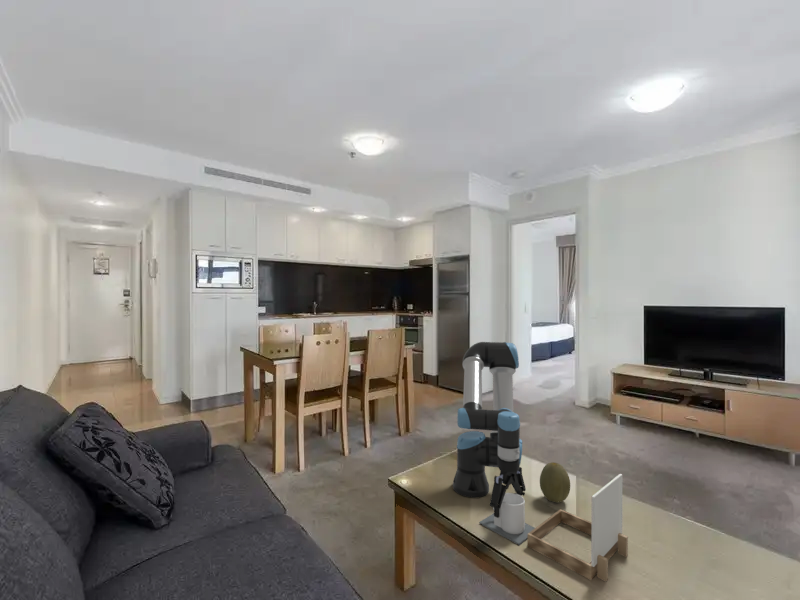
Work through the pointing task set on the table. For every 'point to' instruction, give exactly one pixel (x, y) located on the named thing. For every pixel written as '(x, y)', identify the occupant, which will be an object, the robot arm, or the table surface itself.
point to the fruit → (555, 482)
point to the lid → (607, 525)
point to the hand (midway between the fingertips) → (508, 518)
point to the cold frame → (560, 555)
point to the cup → (513, 513)
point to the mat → (514, 538)
